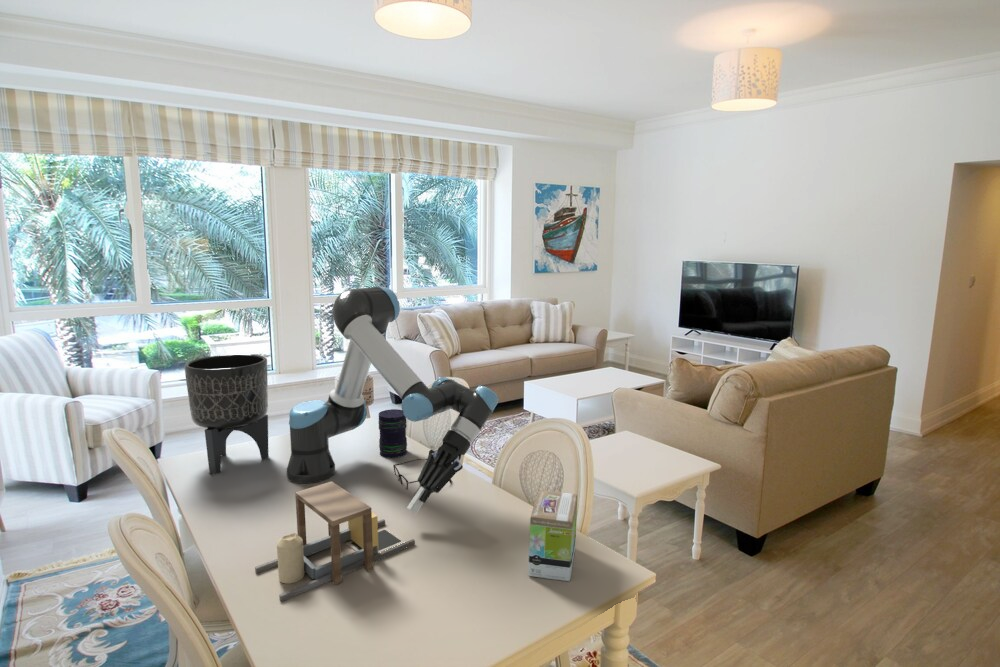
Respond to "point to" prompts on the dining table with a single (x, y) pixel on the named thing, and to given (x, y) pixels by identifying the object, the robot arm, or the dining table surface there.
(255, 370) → the planter
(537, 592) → the dining table surface
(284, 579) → the candle
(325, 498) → the wooden stand with rails
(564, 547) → the tea box
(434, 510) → the dining table surface
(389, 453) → the dark blue cylinder
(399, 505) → the dining table surface
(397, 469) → the eyeglasses
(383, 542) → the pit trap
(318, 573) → the yellow panel grey frame
